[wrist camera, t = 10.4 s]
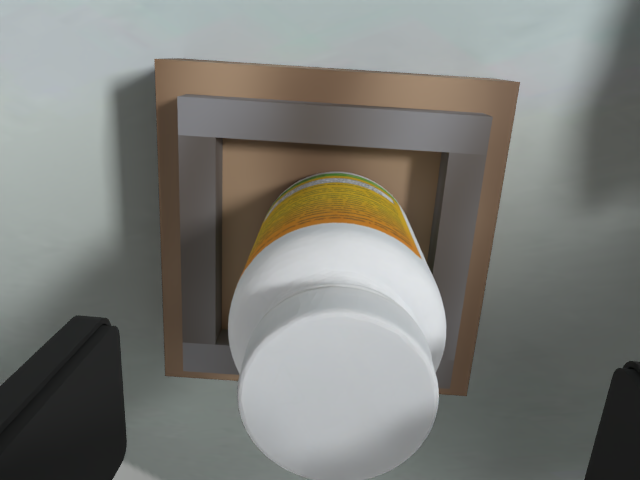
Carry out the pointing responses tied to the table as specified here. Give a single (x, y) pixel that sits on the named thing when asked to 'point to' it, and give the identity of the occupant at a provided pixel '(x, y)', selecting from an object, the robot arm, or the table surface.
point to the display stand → (313, 158)
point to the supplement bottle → (337, 332)
